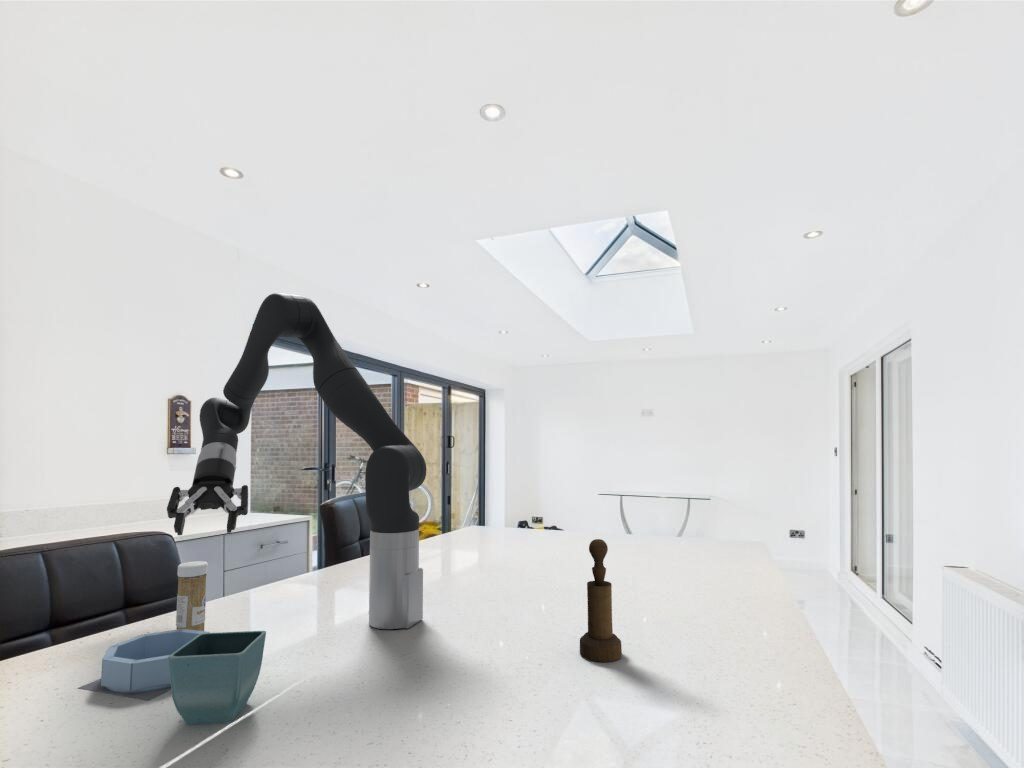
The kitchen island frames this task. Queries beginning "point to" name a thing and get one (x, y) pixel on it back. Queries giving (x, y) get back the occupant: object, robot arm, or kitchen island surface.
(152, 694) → the mat
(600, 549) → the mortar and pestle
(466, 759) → the kitchen island surface
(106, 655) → the bowl
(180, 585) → the sprinkles bottle
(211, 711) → the flower pot
